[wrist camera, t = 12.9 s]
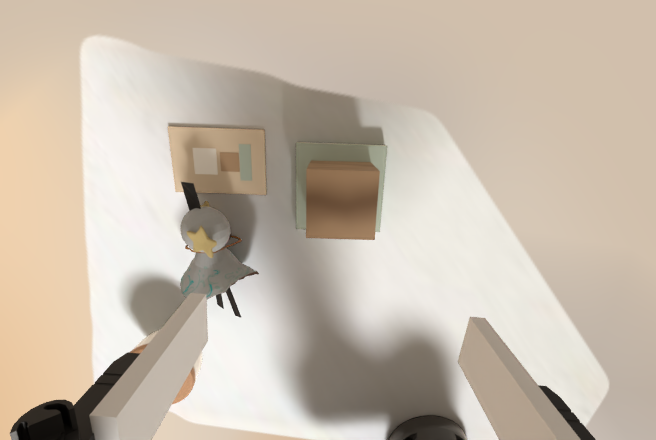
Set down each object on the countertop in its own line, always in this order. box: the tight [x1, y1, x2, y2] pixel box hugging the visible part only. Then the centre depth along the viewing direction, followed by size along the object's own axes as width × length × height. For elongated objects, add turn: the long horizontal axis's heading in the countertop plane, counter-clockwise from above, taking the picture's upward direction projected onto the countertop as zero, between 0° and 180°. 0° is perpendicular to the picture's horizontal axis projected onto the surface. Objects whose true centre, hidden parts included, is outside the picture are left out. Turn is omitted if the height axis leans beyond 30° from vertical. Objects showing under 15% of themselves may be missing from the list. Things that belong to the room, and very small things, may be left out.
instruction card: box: [168, 126, 267, 195], centre depth 43 cm, size 9×13×1 cm
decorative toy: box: [180, 182, 259, 317], centre depth 42 cm, size 12×10×20 cm
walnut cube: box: [306, 160, 380, 240], centre depth 38 cm, size 8×8×8 cm
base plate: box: [296, 142, 387, 232], centre depth 43 cm, size 12×12×2 cm
